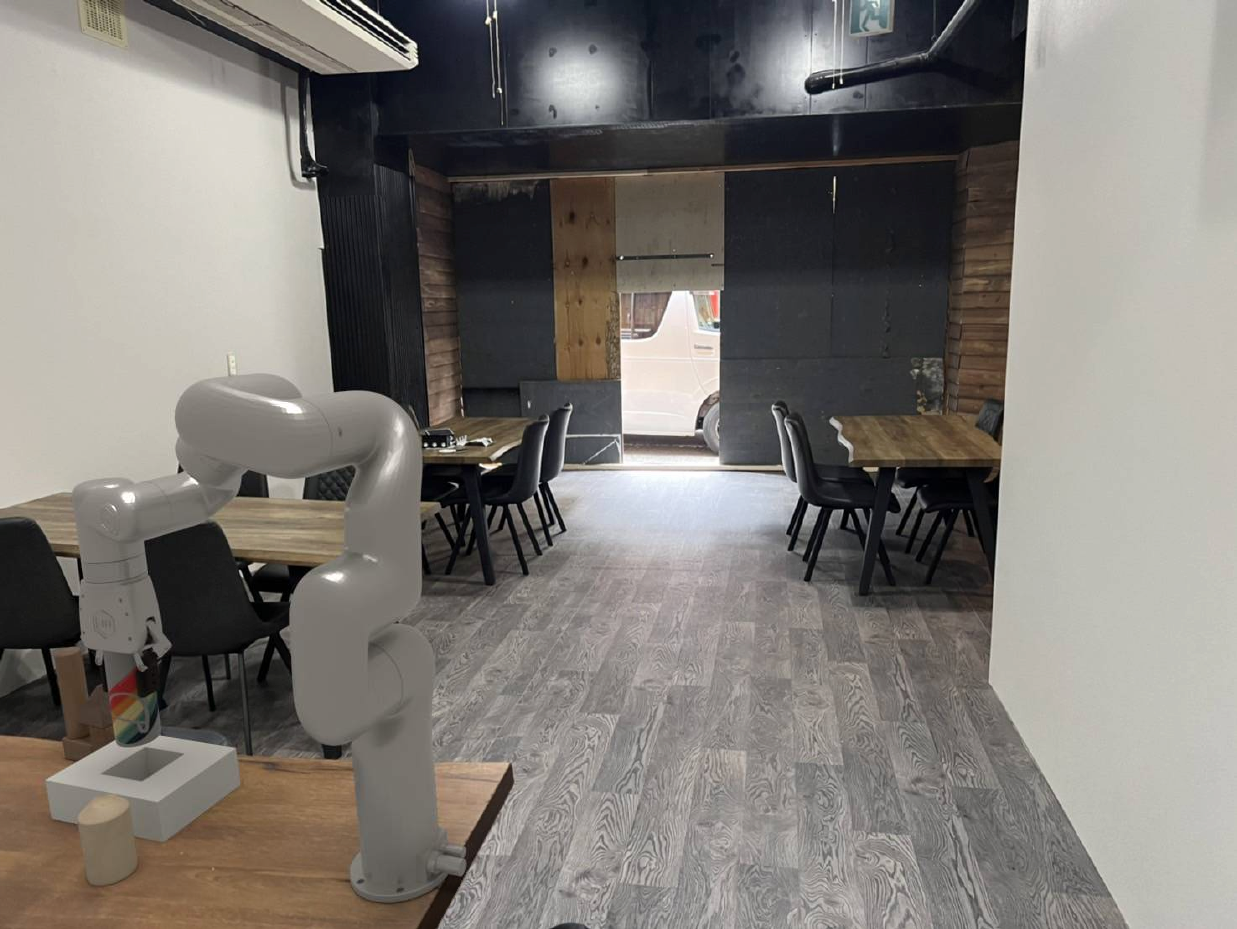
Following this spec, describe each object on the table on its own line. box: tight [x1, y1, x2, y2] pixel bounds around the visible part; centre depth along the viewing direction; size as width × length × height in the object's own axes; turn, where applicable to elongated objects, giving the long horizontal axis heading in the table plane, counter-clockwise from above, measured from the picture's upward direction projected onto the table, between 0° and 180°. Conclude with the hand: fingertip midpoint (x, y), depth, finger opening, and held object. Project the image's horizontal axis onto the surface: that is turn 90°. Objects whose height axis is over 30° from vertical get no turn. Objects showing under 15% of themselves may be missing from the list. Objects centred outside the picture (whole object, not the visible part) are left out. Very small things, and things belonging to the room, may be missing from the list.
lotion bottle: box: [103, 640, 162, 748], centre depth 114 cm, size 6×6×20 cm
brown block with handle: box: [53, 646, 115, 762], centre depth 128 cm, size 4×11×18 cm, turn 67°
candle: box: [77, 794, 139, 887], centre depth 102 cm, size 6×6×10 cm
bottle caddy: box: [45, 734, 241, 844], centre depth 117 cm, size 20×14×6 cm
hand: (132, 689), depth 114 cm, fingers closed on lotion bottle, 5 cm apart
